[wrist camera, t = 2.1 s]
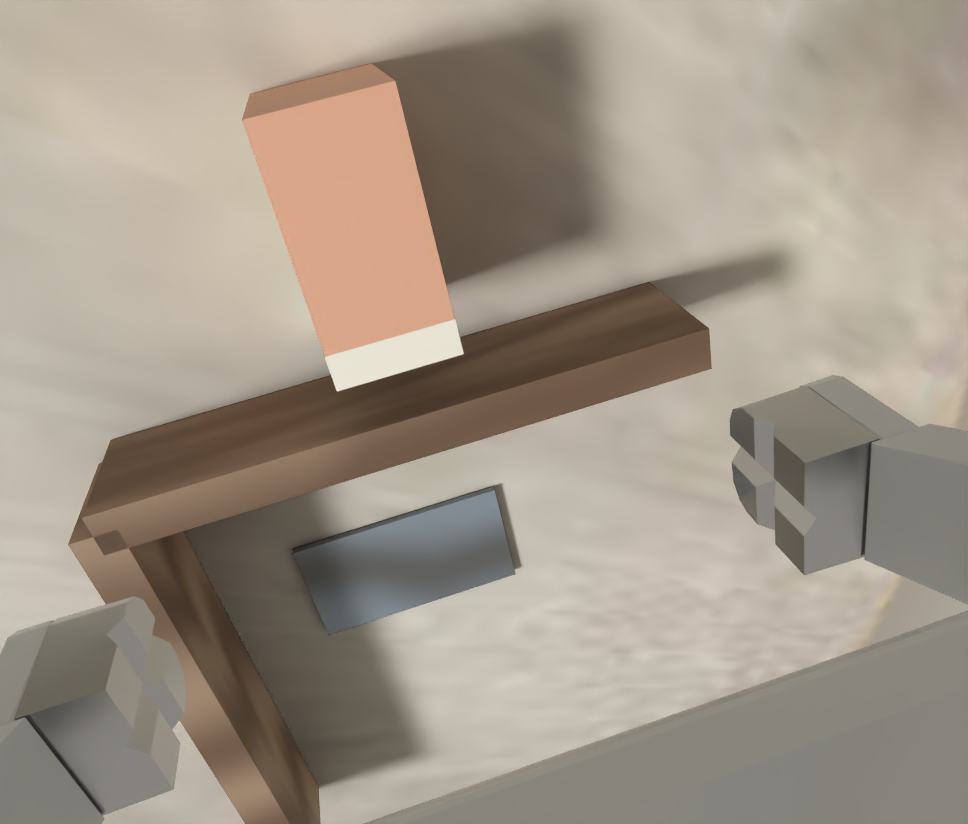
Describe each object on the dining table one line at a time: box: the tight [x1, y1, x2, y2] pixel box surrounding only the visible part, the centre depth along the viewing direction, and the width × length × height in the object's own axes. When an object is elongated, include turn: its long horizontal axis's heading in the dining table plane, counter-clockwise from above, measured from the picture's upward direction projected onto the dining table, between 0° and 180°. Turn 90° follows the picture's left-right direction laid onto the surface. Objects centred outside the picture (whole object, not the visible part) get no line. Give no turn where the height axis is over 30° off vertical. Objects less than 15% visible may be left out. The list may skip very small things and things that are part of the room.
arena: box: [68, 282, 712, 824], centre depth 33 cm, size 22×22×5 cm
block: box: [242, 63, 464, 392], centre depth 24 cm, size 8×4×6 cm, turn 12°
